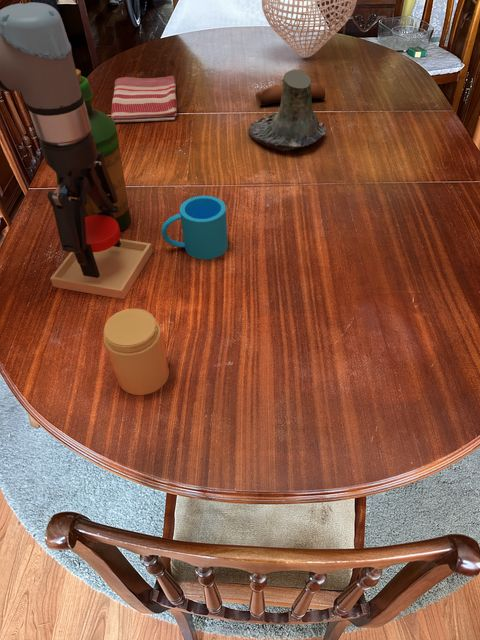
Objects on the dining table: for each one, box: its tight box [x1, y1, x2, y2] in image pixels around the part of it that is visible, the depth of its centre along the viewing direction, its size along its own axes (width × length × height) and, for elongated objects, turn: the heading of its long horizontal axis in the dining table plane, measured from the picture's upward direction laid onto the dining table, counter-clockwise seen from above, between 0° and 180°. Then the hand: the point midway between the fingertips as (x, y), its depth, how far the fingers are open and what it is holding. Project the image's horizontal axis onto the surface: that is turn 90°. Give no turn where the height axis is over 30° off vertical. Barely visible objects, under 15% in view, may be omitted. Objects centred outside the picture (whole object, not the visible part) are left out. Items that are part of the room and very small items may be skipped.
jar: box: [103, 308, 170, 396], centre depth 72 cm, size 8×8×10 cm
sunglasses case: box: [255, 82, 326, 107], centre depth 137 cm, size 18×7×7 cm
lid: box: [85, 215, 122, 252], centre depth 85 cm, size 8×8×2 cm
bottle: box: [75, 68, 132, 232], centre depth 90 cm, size 11×11×28 cm
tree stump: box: [248, 69, 327, 152], centre depth 119 cm, size 18×20×18 cm
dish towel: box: [110, 75, 178, 123], centre depth 135 cm, size 17×23×3 cm
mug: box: [161, 195, 229, 260], centre depth 93 cm, size 12×8×8 cm
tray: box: [49, 238, 153, 300], centre depth 91 cm, size 13×13×2 cm
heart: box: [261, 0, 357, 58], centre depth 150 cm, size 28×16×22 cm, turn 102°
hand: (102, 259), depth 90 cm, fingers closed on lid, 8 cm apart
